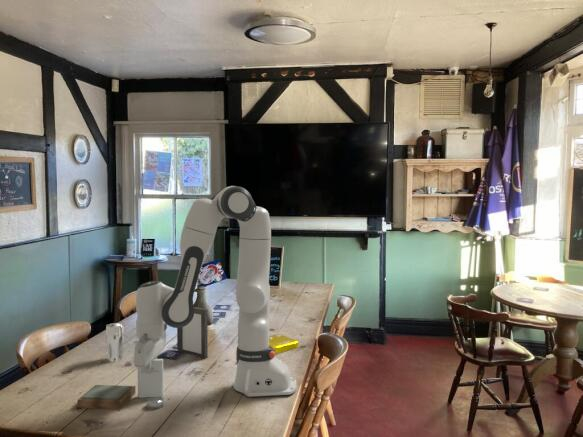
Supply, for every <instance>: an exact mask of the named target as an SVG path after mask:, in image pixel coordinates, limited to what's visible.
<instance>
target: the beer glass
mask: <svg viewBox="0 0 583 437" xmlns="http://www.w3.org/2000/svg"><path fill="white" fill-rule="evenodd" d="M105 326H106V327H105V342H106V348H107V352H108V354H107V355H108V356H107V362H109V363H118V362H120V361H123V359H124V356H123V347H124V342H125V328H124V323H121V322H115V323H114V322H113V323H109V324H106V325H105Z"/></svg>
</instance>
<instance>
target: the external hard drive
mask: <svg viewBox="0 0 583 437" xmlns="http://www.w3.org/2000/svg"><path fill="white" fill-rule="evenodd" d="M151 367H152V372H151V373H150V374H146V372H145V367H137V398H138V399H142V398H154V397H160V398H163V397H164V359H163V358H157V359H153V360H152V361H151Z"/></svg>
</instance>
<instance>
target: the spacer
mask: <svg viewBox="0 0 583 437" xmlns="http://www.w3.org/2000/svg"><path fill="white" fill-rule="evenodd" d="M163 407H164V398H163V397H149V398H148V399H147V401H146V408H147V409H148V410H159V409H161V408H163Z"/></svg>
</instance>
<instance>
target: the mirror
mask: <svg viewBox="0 0 583 437" xmlns="http://www.w3.org/2000/svg"><path fill="white" fill-rule="evenodd" d="M135 395H136V385H134V386H133V385H111V384H110V385H109V384H106V385H105V384H95V385H94V386H92V387H90V389H89V390H87V391H86V393H84V394H83V395H82V396H80V398H78V399H77V408H78V409H106V410H107V409H109V410H122V409H123V408H124V406H126V404H127V403H128V402H129V401H130V400H131V399H132V398H133V397H134V396H135Z"/></svg>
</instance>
